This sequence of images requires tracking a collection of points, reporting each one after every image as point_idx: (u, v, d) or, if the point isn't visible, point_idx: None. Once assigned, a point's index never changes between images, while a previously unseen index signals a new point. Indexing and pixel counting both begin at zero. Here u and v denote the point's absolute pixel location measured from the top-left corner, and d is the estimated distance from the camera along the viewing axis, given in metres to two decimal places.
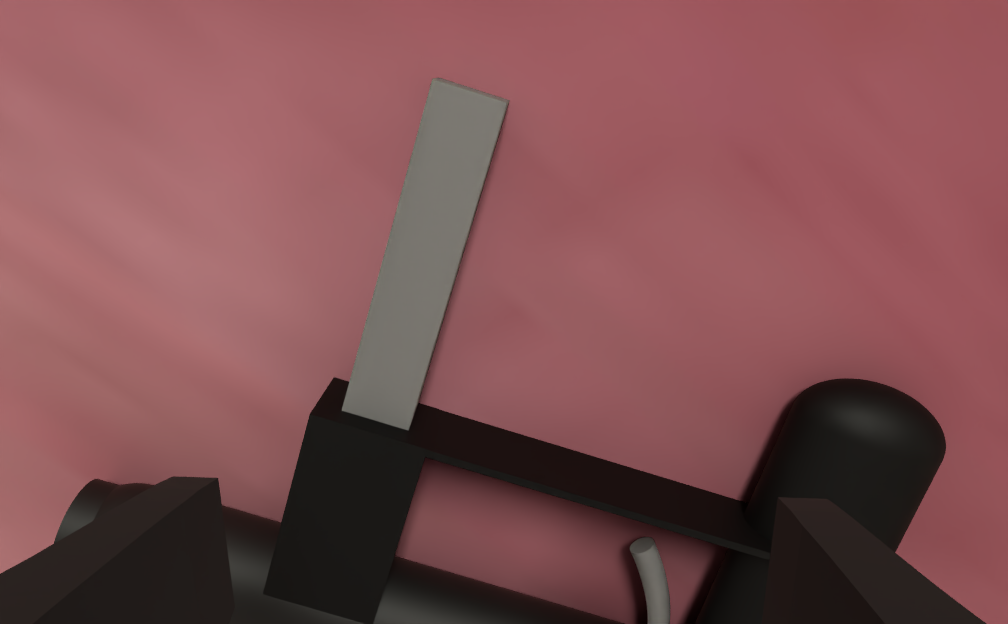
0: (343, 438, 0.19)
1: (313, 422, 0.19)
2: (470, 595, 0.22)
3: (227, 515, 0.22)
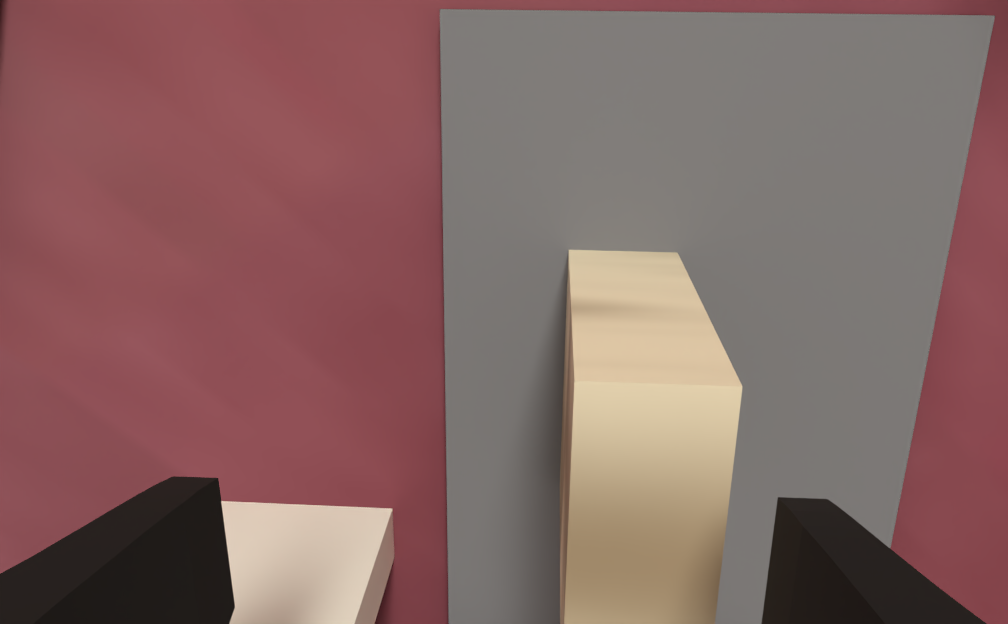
0: None
1: None
2: None
3: None
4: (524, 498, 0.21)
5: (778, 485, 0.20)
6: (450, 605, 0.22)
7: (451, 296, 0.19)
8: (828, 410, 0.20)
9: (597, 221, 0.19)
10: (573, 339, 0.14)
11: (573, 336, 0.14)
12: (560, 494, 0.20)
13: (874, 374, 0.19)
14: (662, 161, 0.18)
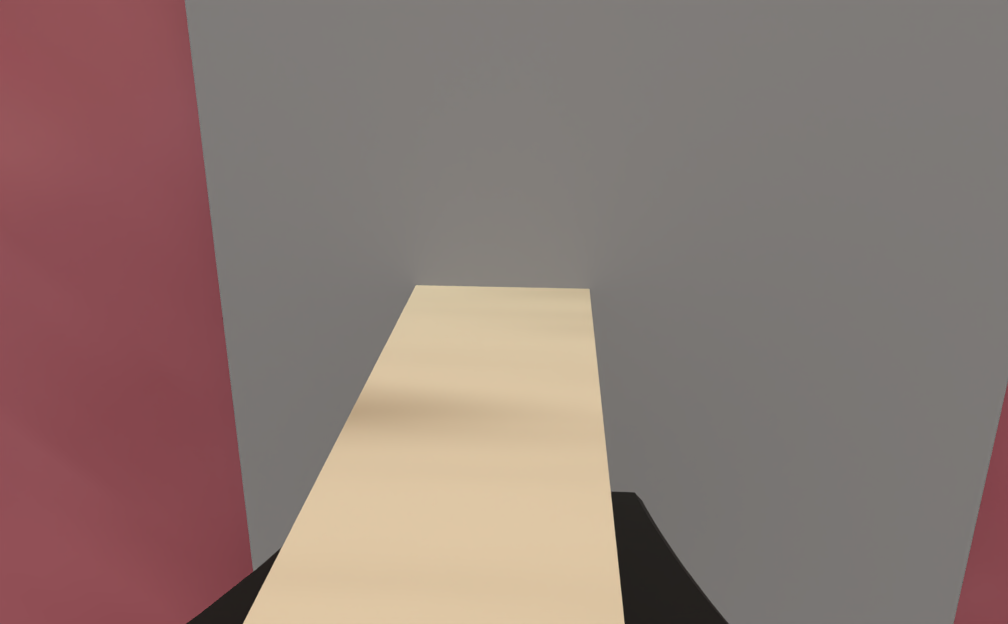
0: None
1: None
2: None
3: None
4: None
5: None
6: None
7: (239, 358, 0.12)
8: (834, 529, 0.13)
9: (458, 240, 0.11)
10: (310, 496, 0.07)
11: (314, 488, 0.07)
12: None
13: (907, 476, 0.12)
14: (557, 142, 0.11)
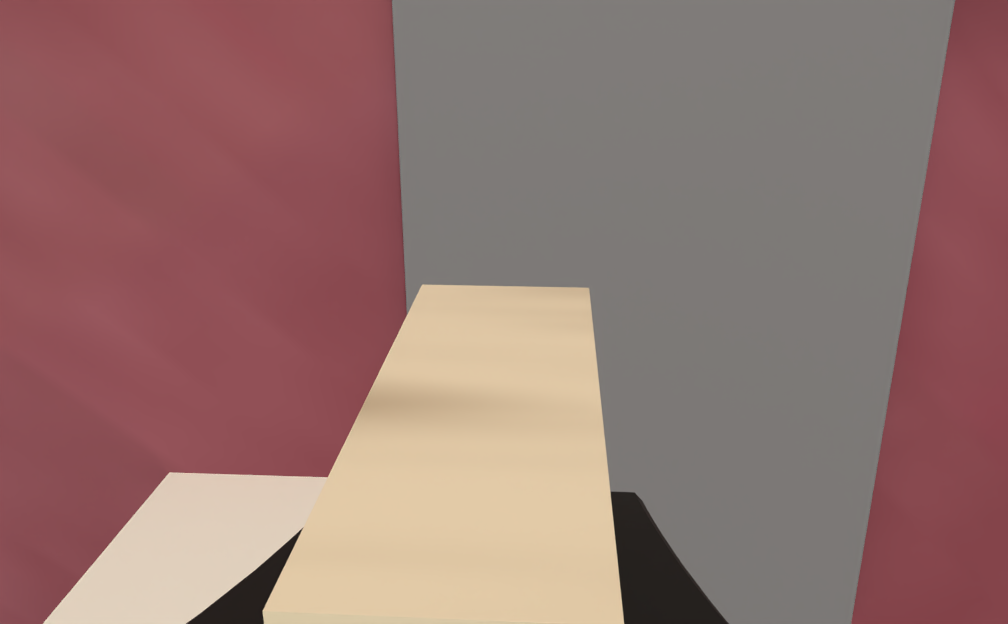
0: None
1: None
2: None
3: None
4: None
5: (752, 448, 0.20)
6: None
7: (411, 255, 0.19)
8: (801, 368, 0.19)
9: (558, 175, 0.18)
10: (328, 482, 0.07)
11: (331, 474, 0.07)
12: None
13: (848, 330, 0.19)
14: (623, 111, 0.17)
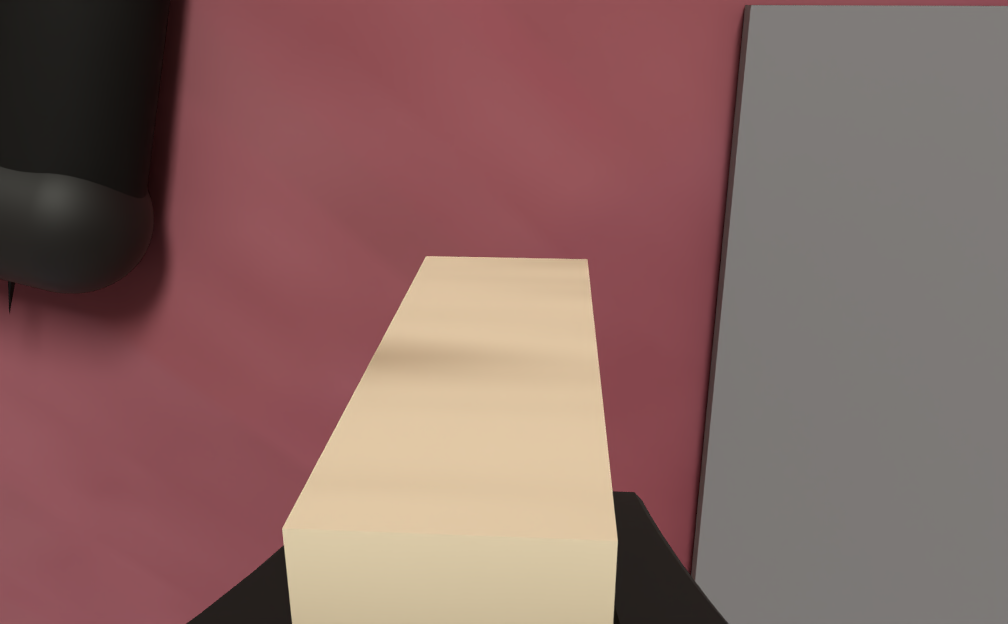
0: None
1: None
2: None
3: None
4: (786, 557, 0.19)
5: None
6: None
7: (727, 333, 0.17)
8: None
9: (908, 248, 0.16)
10: (340, 423, 0.08)
11: (342, 417, 0.08)
12: None
13: None
14: (993, 179, 0.16)
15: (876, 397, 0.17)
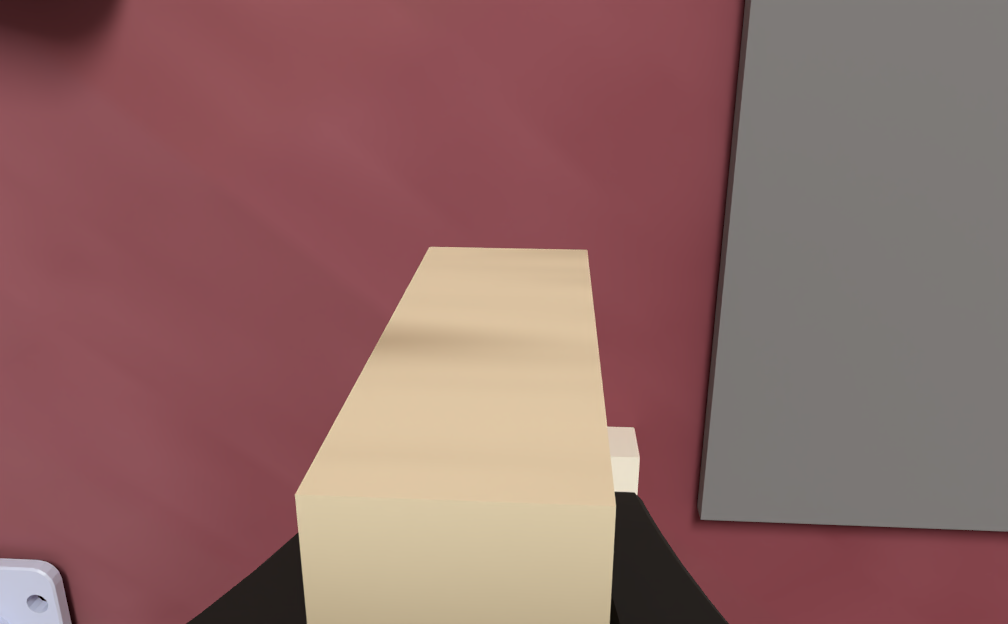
0: None
1: None
2: None
3: None
4: (818, 326, 0.17)
5: None
6: (707, 471, 0.18)
7: (756, 49, 0.15)
8: None
9: None
10: (348, 400, 0.08)
11: (351, 394, 0.08)
12: None
13: None
14: None
15: (922, 126, 0.15)
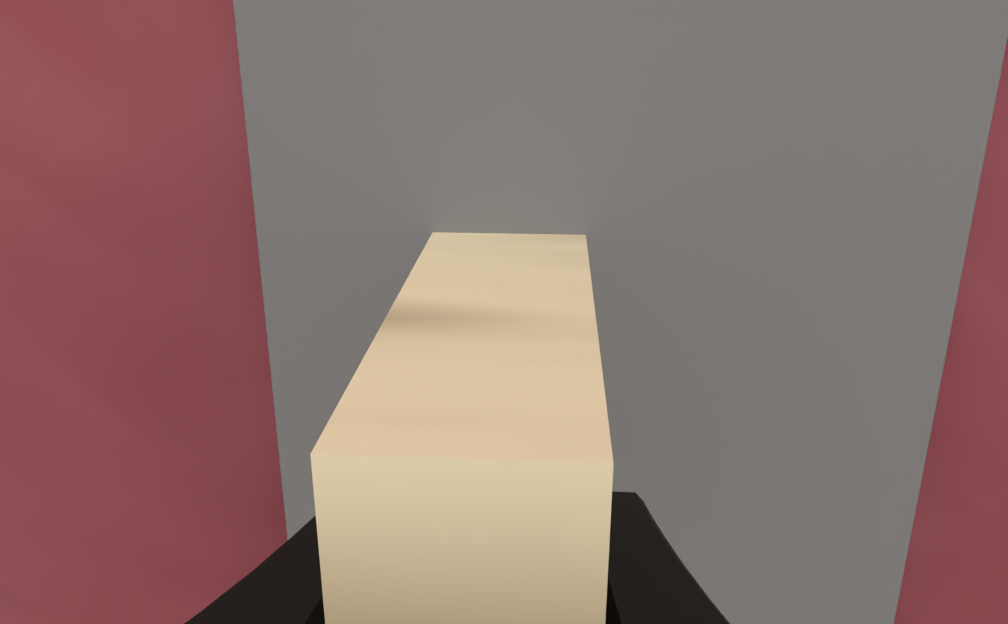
0: None
1: None
2: None
3: None
4: None
5: (735, 569, 0.15)
6: None
7: (275, 318, 0.14)
8: (800, 469, 0.14)
9: (469, 211, 0.13)
10: (358, 371, 0.08)
11: (360, 366, 0.08)
12: None
13: (863, 421, 0.14)
14: (555, 125, 0.13)
15: None
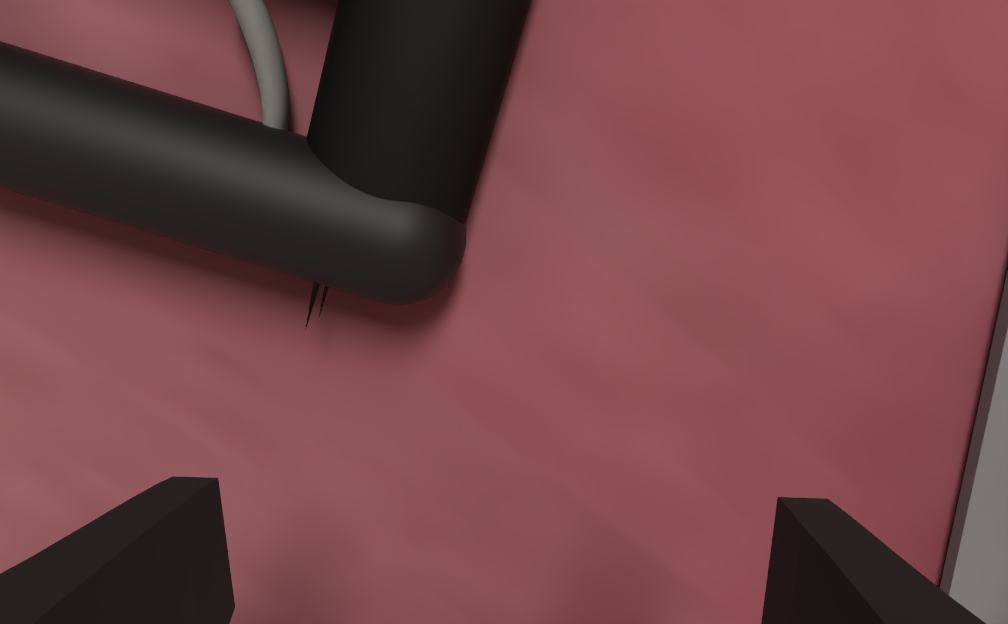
0: None
1: None
2: (30, 54, 0.18)
3: None
4: None
5: None
6: None
7: (998, 406, 0.20)
8: None
9: None
10: None
11: None
12: None
13: None
14: None
15: None
